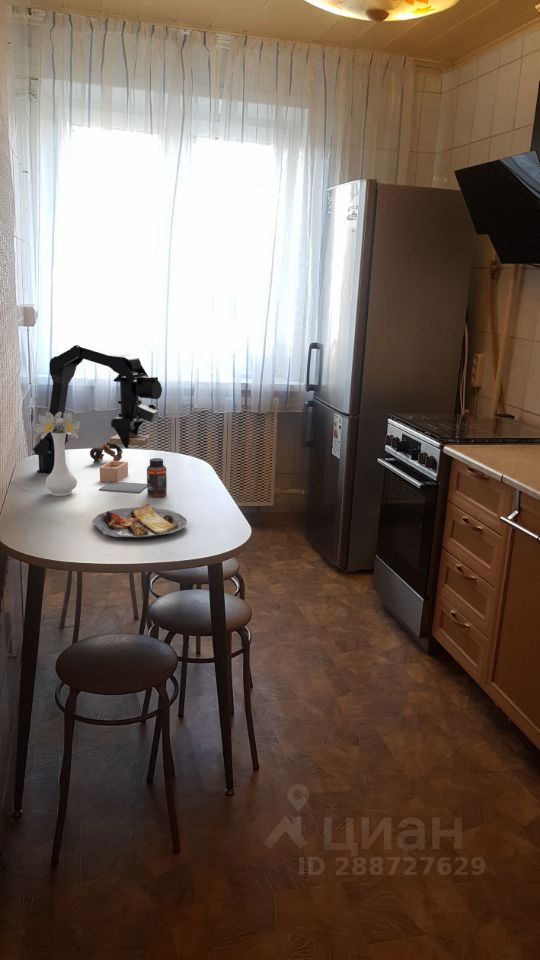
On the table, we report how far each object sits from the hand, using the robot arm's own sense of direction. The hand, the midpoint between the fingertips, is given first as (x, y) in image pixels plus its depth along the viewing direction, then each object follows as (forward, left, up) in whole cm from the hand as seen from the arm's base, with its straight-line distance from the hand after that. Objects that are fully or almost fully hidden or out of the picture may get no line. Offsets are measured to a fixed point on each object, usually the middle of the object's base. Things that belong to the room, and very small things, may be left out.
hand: (130, 445), depth 244 cm
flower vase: (-17, -17, -13) cm, 27 cm away
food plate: (+17, -43, -13) cm, 48 cm away
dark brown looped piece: (-19, +25, -13) cm, 34 cm away
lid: (0, 0, +1) cm, 1 cm away
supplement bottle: (+12, -12, -13) cm, 21 cm away
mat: (0, -6, -12) cm, 14 cm away
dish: (-8, +5, -12) cm, 15 cm away
